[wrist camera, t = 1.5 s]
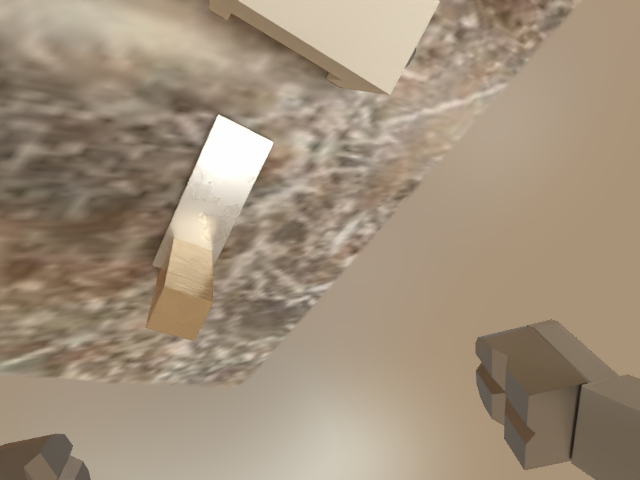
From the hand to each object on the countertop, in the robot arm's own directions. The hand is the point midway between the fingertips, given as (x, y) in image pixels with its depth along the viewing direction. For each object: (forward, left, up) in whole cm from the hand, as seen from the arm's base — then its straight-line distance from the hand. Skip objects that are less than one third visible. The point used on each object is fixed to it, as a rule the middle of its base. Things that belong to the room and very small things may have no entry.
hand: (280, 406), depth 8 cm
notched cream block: (+1, +12, -30) cm, 33 cm away
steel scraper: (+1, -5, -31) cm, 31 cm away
